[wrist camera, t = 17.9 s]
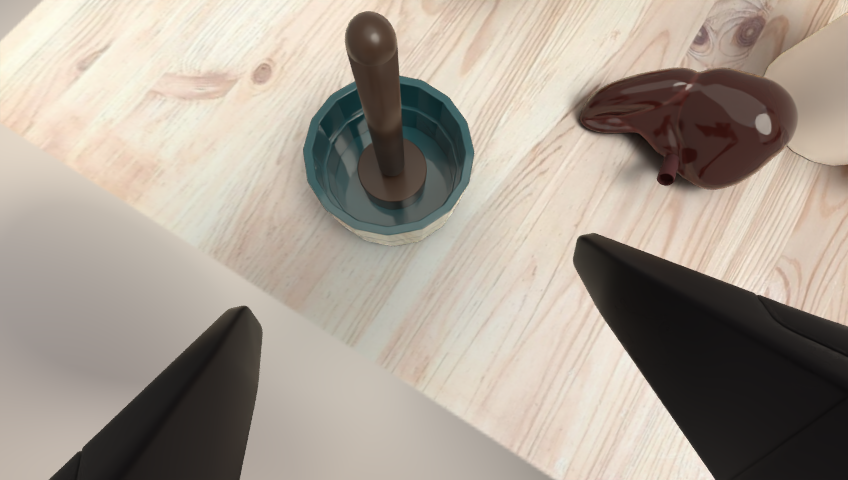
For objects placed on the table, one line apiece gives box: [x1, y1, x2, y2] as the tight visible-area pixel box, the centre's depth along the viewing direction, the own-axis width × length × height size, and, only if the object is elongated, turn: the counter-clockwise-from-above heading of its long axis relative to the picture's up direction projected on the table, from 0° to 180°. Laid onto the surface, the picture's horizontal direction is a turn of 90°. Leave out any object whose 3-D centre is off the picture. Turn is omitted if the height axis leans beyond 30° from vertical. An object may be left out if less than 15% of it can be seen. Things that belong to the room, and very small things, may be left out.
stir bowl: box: [303, 76, 474, 246], centre depth 20 cm, size 9×9×5 cm
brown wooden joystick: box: [345, 11, 427, 209], centre depth 15 cm, size 4×4×13 cm
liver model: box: [580, 68, 798, 190], centre depth 22 cm, size 6×12×11 cm
